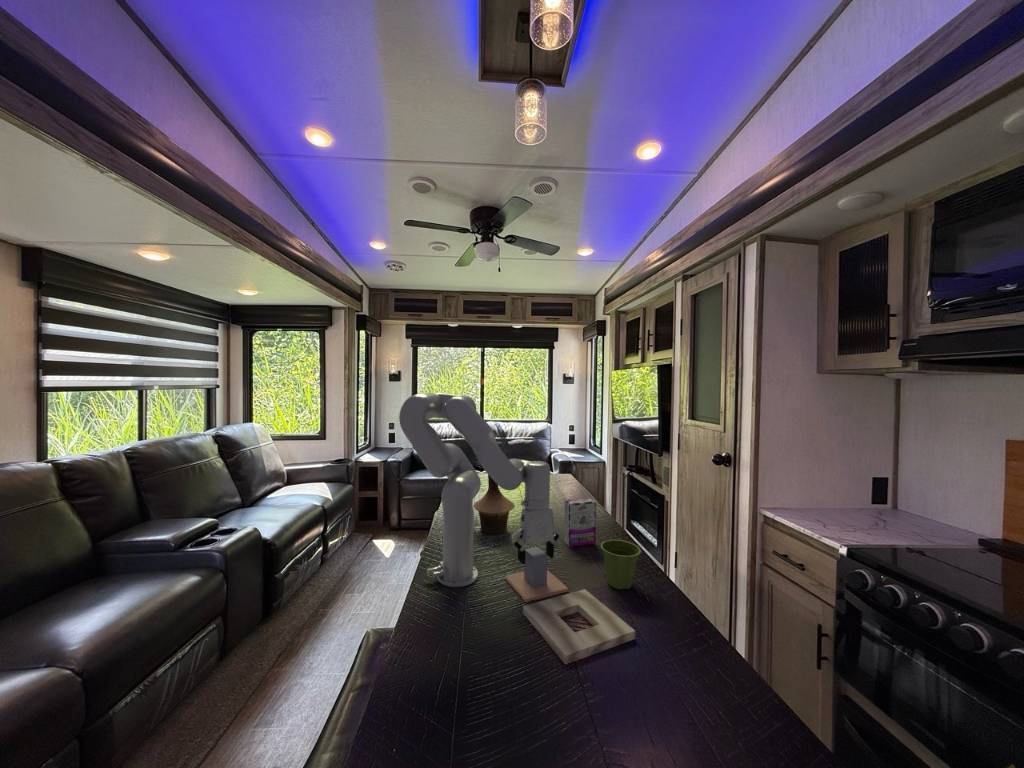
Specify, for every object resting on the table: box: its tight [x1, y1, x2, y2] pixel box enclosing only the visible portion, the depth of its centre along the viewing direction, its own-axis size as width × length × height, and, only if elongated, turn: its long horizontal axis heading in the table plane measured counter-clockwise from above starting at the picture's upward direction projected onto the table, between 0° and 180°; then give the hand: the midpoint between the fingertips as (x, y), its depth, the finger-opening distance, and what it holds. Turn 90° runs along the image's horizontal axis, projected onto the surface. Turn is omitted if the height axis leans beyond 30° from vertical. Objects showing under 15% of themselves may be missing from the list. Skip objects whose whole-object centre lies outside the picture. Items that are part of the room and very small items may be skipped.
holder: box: [522, 588, 636, 665], centre depth 97 cm, size 20×20×2 cm
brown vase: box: [473, 474, 516, 536], centre depth 157 cm, size 18×17×28 cm
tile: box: [504, 569, 569, 603], centre depth 115 cm, size 14×14×1 cm
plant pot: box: [600, 539, 642, 590], centre depth 117 cm, size 12×12×11 cm
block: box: [523, 546, 548, 588], centre depth 115 cm, size 4×6×9 cm
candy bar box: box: [564, 497, 597, 548], centre depth 146 cm, size 11×5×16 cm, turn 105°
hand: (536, 559), depth 115 cm, fingers open, 9 cm apart
